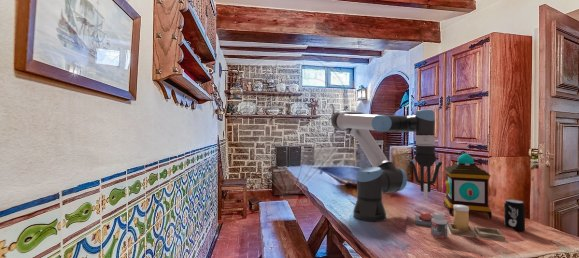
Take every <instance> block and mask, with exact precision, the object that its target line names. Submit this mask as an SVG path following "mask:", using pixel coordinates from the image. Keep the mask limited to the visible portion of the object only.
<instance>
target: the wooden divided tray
mask: <svg viewBox="0 0 579 258" xmlns="http://www.w3.org/2000/svg"><path fill="white" fill-rule="evenodd" d="M447 232H448V233H449V235H453V236H460V237H461V236H462V237H468V238H477V239H483V240H490V241H499V242H505V243H508V240H506V236H505V235H504V233H503V232H501V230H500V229H498V228H492V227H482V226H475V225H473V226H472V225H469V231H464V230H456V229H454V223H453V222H447Z"/></svg>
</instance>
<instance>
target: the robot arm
mask: <svg viewBox="0 0 579 258" xmlns="http://www.w3.org/2000/svg"><path fill="white" fill-rule="evenodd" d="M435 116H436V115H435V111H434V110H433V109H418V110H416V111H415V115H396V114H395V115H391V114H366V113H364V112H363V111H358V110H357V111H349V110H339V111H336V112H334V113H333V114H332V116H331V120H330V122H331V126H332V127H333V128H334V129H335V130H338V131H347V132H348V133H349V134H350V136H351V137H353V138H355V140H356V141H357V143H358V145H359V146H360V148H361V149H362V151H363V154H364V155H365V157H366V158H367V160H368V161H369V163H370V165H371V166H365V167H362V168H359V169H358V170H357V174H356V175H357V176H356V187H357V188H356V201H355V205H354V208H353V211H352V212H353V217H354V216H355V217H354V218H356V219H358V220H361V221H366V222H381V220H382V221H385V220H386V219H387V213H386V209H385V207H384V203H383V194H387V193H388V194H390V193H397V192H401V191H403V190H404V189H405V188H406V186H407V183H408V182H407V181H408V177H407V173H406V171H405V170H404V169H402V168H400V167H397V166H396V165H395V163H394V162H393V161H390V160H388V158H387V157H386V154H385V153H384V152H383V150H382V149H381V147H380V146H379V144H378V143H377V141H376V139H375V138H374V137H373V135H372V133H371V132H370V131H375V132H379V133H388V132H390V133H391V132H394V133H397V132H398V133H408V132H409V133H410V132H411V133H415V156H414V158H413V159H411V160H409V164H410V165H411V168H412V171H413V174H414V179H415V182H416V183H417V184H419V185H420V192H422V193H423V201H428V199H429V197H428V193H431V192H432V191H431V190H432V189H431V185H435V184H436V182H437V178H438V174H439V170H440V167H441V166H442V165H443V162H442V161H439V160H438V158H437V157H436V147H435V144H436V135H435V133H436V132H435V129H436V126H435V125H436V117H435ZM416 162H417V164H418V165H419V166H420V170H419V171H420V179H419V175H418V171H417V168H416ZM433 165H435V167H434V171H433V175H432V178H431V167H432V166H433ZM425 167H426V182H427V183H425V181H424V180H425V179H424V178H425V175H424V174H425ZM384 219H385V220H384Z"/></svg>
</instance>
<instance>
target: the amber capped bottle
mask: <svg viewBox="0 0 579 258" xmlns="http://www.w3.org/2000/svg"><path fill="white" fill-rule="evenodd" d="M453 209H454V210H453V224H454V229H456V230H464V231H469V226H470V222H469V221H470V220H469V219H470V217H469V215H470V214H469V212H470V211H469V207H468V206H465V205H453Z"/></svg>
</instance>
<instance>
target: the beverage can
mask: <svg viewBox="0 0 579 258" xmlns="http://www.w3.org/2000/svg"><path fill="white" fill-rule="evenodd" d="M503 206H504V208H503V211H504V213H503V214H504V215H503V217H504V220H503V221H504V223H503V224H504V227H507V228H510V229H512V230H513V231H514V232H517V233H519V232H520V233H522V232H524V231H525V229H526V217H525V215H526V211H525V210H526V208H525V207H526V206H525V204H524V201H522V200H520V199H514V198H513V199H511V198H509V199H505V201H504V203H503Z"/></svg>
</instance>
